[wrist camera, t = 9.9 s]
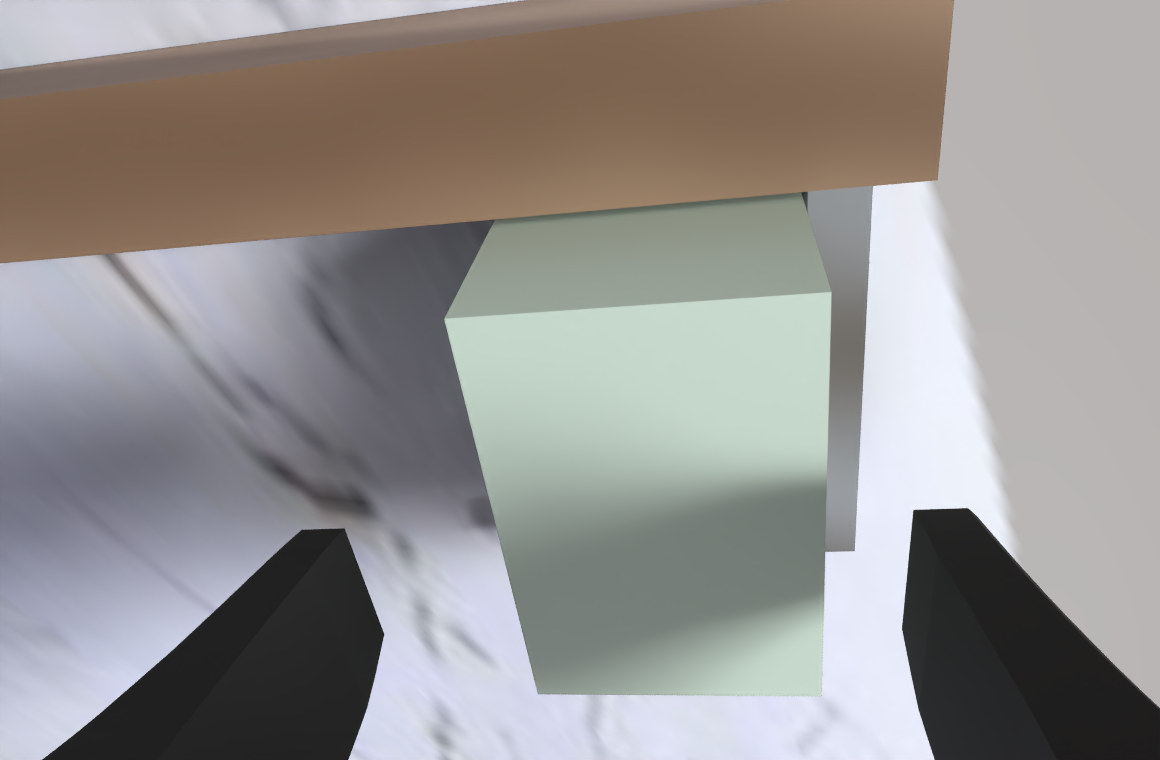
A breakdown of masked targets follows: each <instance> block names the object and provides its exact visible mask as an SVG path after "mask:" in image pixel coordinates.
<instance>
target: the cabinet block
mask: <svg viewBox="0 0 1160 760" xmlns="http://www.w3.org/2000/svg"><path fill="white" fill-rule="evenodd" d="M831 293H832V292H831V289H830V285H829V282H828V279H827V276H826V272H825V269H824V266H823V262H822V259H821V256H820V253H819V249H818V246H817V243H816V239H815V236H814V233H813V230H812V226H811V223H810V220H809V216H808V213H807V210H806V207H805V203H804V200H803V197H802V194H801V192H798V193H786V194H775V195H764V196H753V197H741V198H730V199H719V200H708V201H696V202H685V203H674V204H663V205H651V206H640V207H629V208H618V209H606V210H595V211H584V212H573V213H561V214H550V215H539V216H528V217H516V218H505V219H495V220H494V222H493V224H492V226H491V228H490V230H489V232H488V234H487V236H486V238H485V240H484V242H483V244H482V246H481V248H480V250H479V252H478V254H477V256H476V258H475V260H474V262H473V263H472V265H471V267H470V269H469V271H468V273H467V275H466V277H465V279H464V281H463V283H462V285H461V287H460V289H459V291H458V293H457V295H456V297H455V299H454V301H453V303H452V305H451V306H450V308H449V310H448V312H447V314H446V316H445V318H444V320H445V324H446V328H447V332H448V336H449V340H450V344H451V348H452V352H453V356H454V360H455V364H456V368H457V372H458V376H459V380H460V384H461V388H462V392H463V396H464V400H465V404H466V408H467V412H468V416H469V420H470V424H471V428H472V432H473V436H474V440H475V444H476V448H477V452H478V456H479V460H480V464H481V468H482V472H483V476H484V480H485V484H486V488H487V492H488V496H489V500H490V504H491V508H492V512H493V516H494V520H495V524H496V528H497V532H498V536H499V540H500V544H501V548H502V552H503V556H504V560H505V564H506V568H507V572H508V576H509V580H510V584H511V588H512V592H513V596H514V600H515V604H516V608H517V612H518V616H519V620H520V624H521V628H522V632H523V636H524V640H525V644H526V648H527V652H528V656H529V660H530V664H531V668H532V672H533V676H534V680H535V684H536V688H537V692H538V694H581V695H710V696H822V660H823V619H824V578H825V538H826V497H827V456H828V415H829V375H830V334H831Z"/></svg>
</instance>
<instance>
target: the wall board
mask: <svg viewBox="0 0 1160 760" xmlns="http://www.w3.org/2000/svg"><path fill="white" fill-rule="evenodd" d="M953 5H954V0H525V1H517V2H510V3H502V4H495V5H487V6H479V7H472V8H464V9H457V10H449V11H442V12H434V13H427V14H419V15H411V16H404V17H396V18H389V19H381V20H374V21H366V22H358V23H351V24H343V25H336V26H328V27H321V28H313V29H306V30H298V31H290V32H283V33H275V34H268V35H260V36H253V37H245V38H237V39H230V40H222V41H215V42H207V43H200V44H192V45H185V46H177V47H169V48H162V49H154V50H147V51H139V52H132V53H124V54H117V55H109V56H101V57H94V58H86V59H79V60H71V61H64V62H56V63H48V64H41V65H33V66H26V67H18V68H11V69H3V70H0V263H10V262H21V261H33V260H44V259H55V258H66V257H78V256H89V255H100V254H111V253H123V252H134V251H145V250H156V249H168V248H179V247H190V246H201V245H213V244H224V243H235V242H246V241H258V240H269V239H280V238H291V237H303V236H314V235H325V234H336V233H348V232H359V231H370V230H381V229H393V228H404V227H415V226H426V225H438V224H449V223H460V222H471V221H483V220H494V219H505V218H516V217H528V216H539V215H550V214H561V213H573V212H584V211H595V210H606V209H618V208H629V207H640V206H651V205H663V204H674V203H685V202H696V201H708V200H719V199H730V198H741V197H753V196H764V195H775V194H786V193H798V192H801V194H802V197H803V200H804V203H805V207H806V210H807V213H808V216H809V220H810V223H811V226H812V230H813V233H814V236H815V239H816V243H817V246H818V249H819V253H820V256H821V259H822V262H823V266H824V269H825V272H826V276H827V279H828V282H829V285H830V289H831V292H832V293H831V334H830V375H829V415H828V456H827V497H826V538H825V552H835V551H855V531H856V511H857V491H858V471H859V451H860V431H861V411H862V391H863V371H864V351H865V331H866V311H867V291H868V271H869V251H870V231H871V211H872V192H873V186H876V185H888V184H899V183H910V182H921V181H933V180H938V169H939V158H940V147H941V136H942V125H943V115H944V104H945V92H946V82H947V70H948V60H949V49H950V38H951V27H952V17H953V16H952V15H953Z"/></svg>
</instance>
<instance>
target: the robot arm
mask: <svg viewBox="0 0 1160 760" xmlns="http://www.w3.org/2000/svg"><path fill="white" fill-rule="evenodd" d="M902 630H903V635H904V641H905V646H906V651H907V656H908V661H909V666H910V671H911V676H912V680H913V685H914V690H915V694H916V699H917V704H918V708H919V712H920V715H921V718H922V721H923V725H924V728H925V731H926V734H927V737H928V740H929V743H930V746H931V749H932V753H933V756H934V759H935V760H1160V708H1159V707H1158V706H1157V705H1156V704H1155V703H1154V702H1153V701H1152V700H1151V699H1149V698H1148V697H1147V696H1146V695H1145V694H1144V693H1143V692H1142V691H1141V690H1140V689H1139V688H1138V687H1137V686H1136V685H1135V684H1134V683H1133V682H1131V680H1130V679H1128V678H1127V677H1126V676H1125V675H1124V674H1123V673H1122V672H1121V671H1120V670H1119V669H1118V668H1117V667H1116V666H1115V665H1114V664H1113V663H1112V662H1111V661H1110V660H1109V659H1108V658H1107V657H1106V656H1105V655H1104V654H1103V653H1102V652H1101V651H1100V650H1099V649H1098V648H1097V647H1096V646H1095V645H1094V644H1093V643H1092V642H1091V641H1090V640H1089V639H1088V638H1087V637H1086V636H1085V635H1084V634H1083V633H1082V631H1081V630H1079V628H1078V627H1077V626H1076V625H1075V624H1074V623H1073V622H1072V621H1071V620H1070V619H1069V618H1068V617H1067V616H1066V615H1065V614H1064V613H1063V612H1062V611H1061V610H1060V609H1059V608H1058V607H1057V606H1056V605H1055V603H1054V602H1053V601H1052V600H1051V599H1050V598H1049V597H1048V596H1047V595H1046V594H1045V593H1044V592H1043V591H1042V589H1041V588H1040V587H1039V586H1038V585H1037V584H1036V583H1035V582H1034V581H1033V580H1032V579H1031V577H1030V576H1029V575H1028V574H1027V573H1026V572H1025V571H1024V570H1023V569H1022V567H1021V566H1020V565H1019V564H1018V563H1017V562H1016V561H1015V560H1014V558H1013V557H1012V556H1011V555H1010V554H1009V553H1008V552H1007V550H1006V549H1005V548H1004V547H1003V546H1002V545H1001V544H1000V542H999V541H998V540H997V539H996V538H995V537H994V536H993V534H992V533H991V532H990V531H989V530H988V529H987V527H986V526H985V525H984V524H983V523H982V522H981V520H980V519H979V518H978V517H977V516H976V515H975V514H974V513H973V512H972V511H970V510H969V509H968V508H961V509H930V510H914V511H913V521H912V531H911V542H910V552H909V563H908V573H907V583H906V594H905V604H904V614H903V625H902ZM383 637H384V632H383V630H382V627H381V624H380V622H379V619H378V616H377V614H376V611H375V608H374V606H373V603H372V600H371V598H370V595H369V593H368V590H367V587H366V585H365V582H364V579H363V577H362V574H361V571H360V569H359V566H358V563H357V561H356V558H355V555H354V553H353V550H352V547H351V545H350V542H349V539H348V537H347V534H346V531H345V529H314V530H301V531H300V532H299V533H298V534H297V535H295V536H294V537H293V538H292V539H291V540H290V541H289V542H287V543H286V544H285V545H284V546H283V547H282V548H281V549H280V550H279V551H278V552H277V553H276V554H274V555H273V556H272V557H271V558H270V559H269V560H268V561H267V562H266V563H265V564H264V565H263V566H262V567H261V568H260V569H259V570H257V571H256V572H255V573H254V574H253V575H252V576H251V577H250V578H249V579H248V580H247V581H246V582H245V583H244V584H243V585H242V586H241V587H240V588H239V589H238V590H237V591H235V592H234V593H233V594H232V595H231V596H230V597H229V598H228V599H227V600H226V601H225V602H224V603H223V604H222V605H221V606H220V607H219V608H218V609H216V610H215V611H214V612H213V613H212V614H211V615H210V616H209V617H208V618H207V619H206V620H205V621H204V622H203V623H201V624H200V625H199V626H198V627H197V628H196V629H195V630H194V631H193V632H192V633H191V634H190V635H189V636H188V637H186V638H185V639H184V640H183V641H182V642H181V643H180V644H179V645H178V646H177V647H176V648H175V649H174V650H172V651H171V652H170V653H169V654H168V655H167V656H166V657H165V658H163V659H162V660H161V661H160V662H159V663H158V664H157V665H155V666H154V667H153V668H152V669H151V670H150V671H148V672H147V673H146V674H145V675H144V676H143V677H142V678H140V679H139V680H138V681H137V682H136V683H135V684H134V685H132V686H131V687H130V688H129V689H128V690H127V691H125V692H124V693H123V694H122V695H121V696H120V697H119V698H117V699H116V700H115V701H114V702H113V703H112V704H111V705H109V706H108V707H107V708H106V709H105V710H104V711H103V712H101V713H100V714H99V715H98V716H97V717H95V718H94V719H93V720H92V721H91V722H89V723H88V724H87V725H86V726H84V727H83V728H82V729H81V730H80V731H78V732H77V733H76V734H74V735H73V736H72V737H71V738H69V739H68V740H67V741H66V742H64V743H63V744H62V745H61V746H59V747H58V748H57V749H56V750H54V751H53V752H52V753H50V754H49V755H48V756H46V757H45V758H44V759H42V760H348V759H349V756H350V754H351V751H352V748H353V745H354V743H355V740H356V737H357V735H358V732H359V729H360V726H361V724H362V721H363V718H364V715H365V712H366V709H367V706H368V702H369V698H370V694H371V690H372V686H373V682H374V678H375V674H376V670H377V665H378V660H379V656H380V651H381V647H382V642H383Z"/></svg>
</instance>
